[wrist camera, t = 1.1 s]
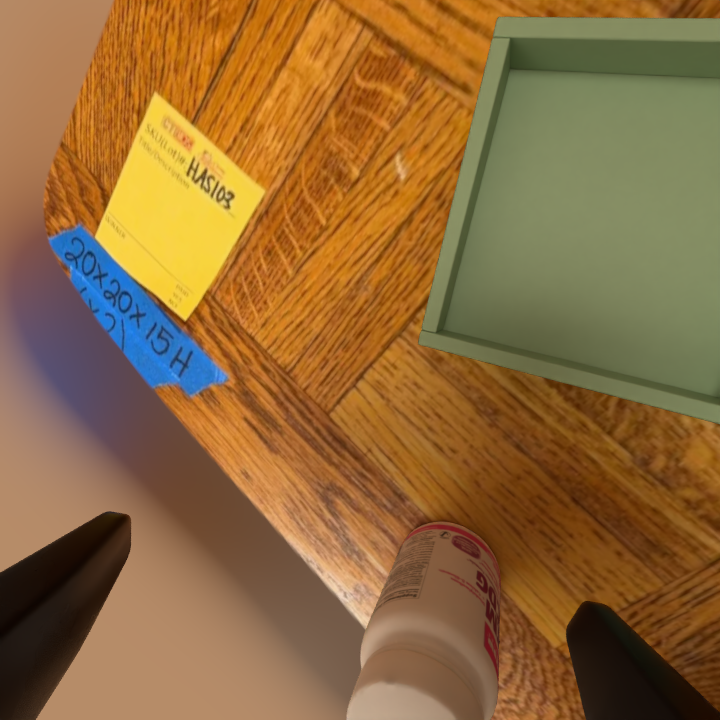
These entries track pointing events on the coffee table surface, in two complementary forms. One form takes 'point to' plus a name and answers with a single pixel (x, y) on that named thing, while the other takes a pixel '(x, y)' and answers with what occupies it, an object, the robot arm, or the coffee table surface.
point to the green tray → (591, 211)
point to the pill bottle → (433, 632)
